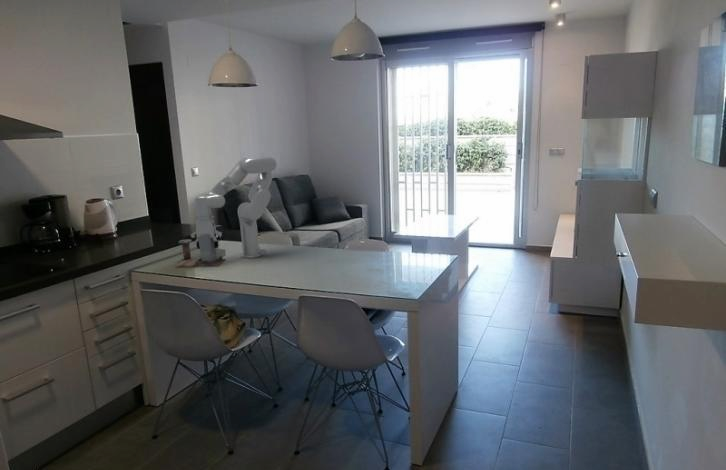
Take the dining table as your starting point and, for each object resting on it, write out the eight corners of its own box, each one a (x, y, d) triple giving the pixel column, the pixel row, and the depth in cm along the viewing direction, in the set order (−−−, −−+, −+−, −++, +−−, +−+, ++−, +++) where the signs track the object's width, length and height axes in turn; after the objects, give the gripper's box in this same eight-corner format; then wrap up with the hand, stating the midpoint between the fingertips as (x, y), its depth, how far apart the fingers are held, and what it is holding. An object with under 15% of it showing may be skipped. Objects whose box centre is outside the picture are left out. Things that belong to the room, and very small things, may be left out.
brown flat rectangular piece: (225, 260, 284) (224, 255, 283) (218, 266, 272) (218, 260, 272) (184, 262, 285) (183, 257, 284) (175, 267, 273) (174, 262, 273)
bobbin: (195, 258, 291) (193, 239, 289) (191, 262, 284) (188, 241, 282) (184, 259, 291) (181, 239, 289) (179, 262, 284) (176, 242, 282)
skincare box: (213, 263, 274) (209, 235, 271) (200, 263, 274) (197, 235, 271) (217, 259, 282) (214, 232, 279) (205, 259, 282) (202, 232, 279)
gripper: (222, 216, 276) (225, 246, 280) (191, 217, 277) (195, 247, 281) (217, 218, 269) (221, 249, 273) (186, 219, 270) (190, 250, 273)
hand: (207, 248), depth 277 cm, fingers open, 9 cm apart
